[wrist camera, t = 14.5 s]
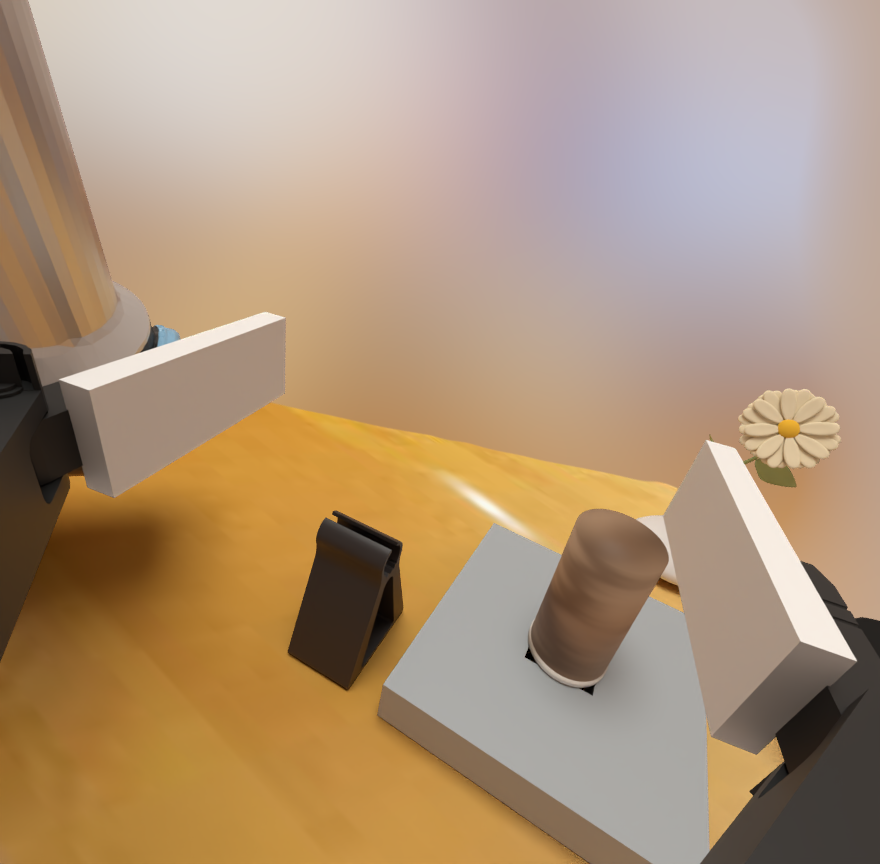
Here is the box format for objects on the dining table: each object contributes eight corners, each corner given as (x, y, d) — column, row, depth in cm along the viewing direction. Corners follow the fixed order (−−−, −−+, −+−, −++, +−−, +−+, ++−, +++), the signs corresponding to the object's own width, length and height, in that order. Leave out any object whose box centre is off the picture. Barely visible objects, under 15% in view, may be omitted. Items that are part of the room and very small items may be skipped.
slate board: (377, 715, 34) (383, 684, 32) (486, 549, 52) (494, 523, 50) (679, 925, 27) (710, 902, 25) (685, 648, 45) (703, 622, 43)
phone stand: (347, 692, 35) (360, 586, 29) (287, 654, 37) (288, 548, 31) (403, 611, 43) (422, 514, 37) (351, 583, 44) (362, 486, 39)
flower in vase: (602, 547, 56) (692, 360, 44) (647, 519, 63) (734, 351, 51) (705, 625, 48) (850, 422, 36) (743, 583, 55) (875, 401, 43)
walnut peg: (503, 650, 40) (556, 513, 33) (561, 633, 43) (623, 503, 35) (543, 724, 35) (618, 583, 27) (607, 700, 38) (691, 565, 30)
